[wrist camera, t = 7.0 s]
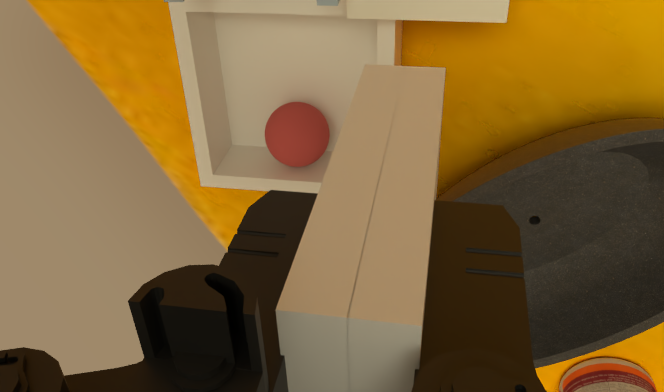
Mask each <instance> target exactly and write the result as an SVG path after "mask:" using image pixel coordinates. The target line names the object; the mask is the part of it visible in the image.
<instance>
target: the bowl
mask: <svg viewBox="0 0 664 392" xmlns="http://www.w3.org/2000/svg"><path fill="white" fill-rule="evenodd" d="M436 200H440V201H453V202H466V203H479V204H492V205H503V206H504V208H505V209H506V210H507V212H508V213H509V214H510V216H511V217H512V218H513V220H514V221H515V222H516V224H517V225H518V226H519V228H520V237H521V247H522V257H523V267H524V279H525V287H526V297H527V307H528V317H529V327H530V337H531V347H532V357H533V363H534V367H535V368H539V367H543V366H547V365H551V364H555V363H558V362H562V361H565V360H569V359H572V358H575V357H578V356H582V355H585V354H588V353H591V352H593V351H596V350H599V349H602V348H605V347H607V346H610V345H612V344H615V343H618V342H620V341H623V340H625V339H627V338H630V337H632V336H635V335H637V334H639V333H641V332H644V331H646V330H648V329H650V328H652V327H654V326H657V325H659V324H661V323H662V322H664V119H663V118H631V119H618V120H611V121H604V122H598V123H593V124H588V125H584V126H580V127H576V128H572V129H568V130H565V131H562V132H559V133H555V134H552V135H550V136H547V137H544V138H541V139H539V140H536V141H534V142H531V143H529V144H526V145H524V146H522V147H520V148H517V149H515V150H513V151H511V152H509V153H507V154H505V155H503V156H501V157H499V158H497V159H495V160H494V161H492V162H490V163H488V164H486V165H485V166H483V167H481V168H480V169H478V170H476V171H475V172H473V173H472V174H470V175H468V176H467V177H465V178H464V179H462V180H461V181H459V182H458V183H457V184H455V185H454V186H452V187H451V188H450V189H448V190H447V191H446V192H445V193H443V194H442V195H441V196H439V197H438V198H437V199H436ZM532 216H537V217H532Z"/></svg>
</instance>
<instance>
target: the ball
mask: <svg viewBox="0 0 664 392" xmlns="http://www.w3.org/2000/svg"><path fill="white" fill-rule="evenodd" d="M329 137H330V132H329V126H328V123H327V121H326V119H325V117H324V115H323V114H322V113H321V112H320V111H319V110H318V109H317V108H315V107H314V106H312V105H310V104H307V103H304V102H290V103H287V104H284V105H282V106H280V107H279V108H277V109H276V110H275V111H274V112H273V113H272V114H271V116H270V117H269V119H268V121H267V123H266V127H265V141H266V145H267V148H268V149H269V151H270V153H271V154H272V155H273V157H274V158H275V159H277V160H278V161H279V162H281V163H283V164H285V165H288V166H292V167H302V166H307V165H309V164H312V163H314V162H315V161H317V160H318V159H319V158H320V157H321V156H322V155H323V153H324V152H325V150H326V148H327V146H328V143H329Z"/></svg>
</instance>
